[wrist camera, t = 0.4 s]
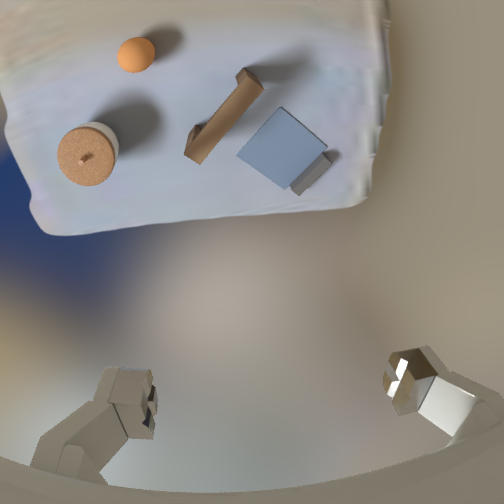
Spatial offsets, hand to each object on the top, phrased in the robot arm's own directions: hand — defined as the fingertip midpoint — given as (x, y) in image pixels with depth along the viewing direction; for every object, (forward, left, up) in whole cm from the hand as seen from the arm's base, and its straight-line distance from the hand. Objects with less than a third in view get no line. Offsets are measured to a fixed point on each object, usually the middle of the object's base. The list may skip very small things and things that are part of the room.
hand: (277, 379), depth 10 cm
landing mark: (+5, +16, -50) cm, 53 cm away
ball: (+5, -15, -47) cm, 49 cm away
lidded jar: (+23, -13, -50) cm, 57 cm away
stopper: (+5, +23, -50) cm, 55 cm away
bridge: (+5, +2, -50) cm, 50 cm away
